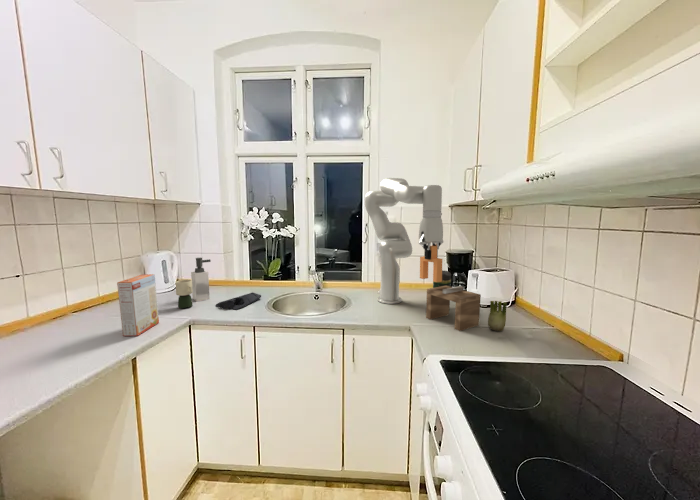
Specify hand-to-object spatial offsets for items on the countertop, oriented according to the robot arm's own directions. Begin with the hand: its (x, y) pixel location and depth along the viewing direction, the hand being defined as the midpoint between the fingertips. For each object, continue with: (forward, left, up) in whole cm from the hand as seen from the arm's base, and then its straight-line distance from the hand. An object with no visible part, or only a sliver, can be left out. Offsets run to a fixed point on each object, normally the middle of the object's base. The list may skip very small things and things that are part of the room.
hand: (431, 258), depth 133 cm
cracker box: (-51, -106, -27) cm, 120 cm away
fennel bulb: (+23, +13, -27) cm, 38 cm away
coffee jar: (-7, +15, -27) cm, 32 cm away
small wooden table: (+7, +6, -27) cm, 28 cm away
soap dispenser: (-85, -79, -27) cm, 119 cm away
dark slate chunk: (-68, -64, -27) cm, 97 cm away
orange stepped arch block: (0, 0, -9) cm, 9 cm away
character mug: (-73, -88, -27) cm, 118 cm away
